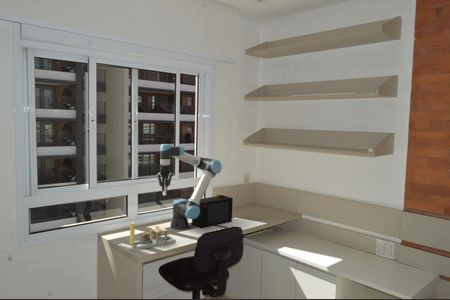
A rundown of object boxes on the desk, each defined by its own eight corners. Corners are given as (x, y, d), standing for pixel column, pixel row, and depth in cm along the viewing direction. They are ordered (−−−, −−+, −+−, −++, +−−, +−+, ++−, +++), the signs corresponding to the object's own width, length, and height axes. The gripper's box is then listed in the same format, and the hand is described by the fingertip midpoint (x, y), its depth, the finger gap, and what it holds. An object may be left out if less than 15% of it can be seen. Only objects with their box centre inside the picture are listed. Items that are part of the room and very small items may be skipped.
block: (147, 238, 247) (147, 231, 246) (150, 240, 243) (150, 233, 242) (140, 239, 244) (140, 232, 243) (143, 241, 240) (143, 235, 239)
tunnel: (159, 236, 256) (160, 225, 256) (166, 241, 247) (167, 229, 246) (149, 238, 252) (150, 227, 251) (156, 243, 242) (156, 231, 241)
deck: (168, 237, 260) (168, 234, 260) (175, 242, 251) (175, 239, 251) (131, 244, 244) (131, 241, 244) (137, 249, 234) (137, 246, 234)
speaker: (190, 224, 296) (191, 197, 294) (220, 217, 319) (221, 192, 317) (201, 228, 285) (201, 200, 283) (231, 221, 308) (232, 195, 306)
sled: (148, 239, 248) (149, 219, 247) (152, 242, 243) (152, 221, 242) (129, 242, 240) (129, 221, 239) (132, 245, 234) (133, 224, 233)
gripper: (170, 163, 265) (170, 193, 267) (155, 164, 257) (154, 195, 259) (175, 164, 259) (174, 195, 261) (159, 165, 251) (158, 197, 253)
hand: (164, 195), depth 260 cm, fingers closed
